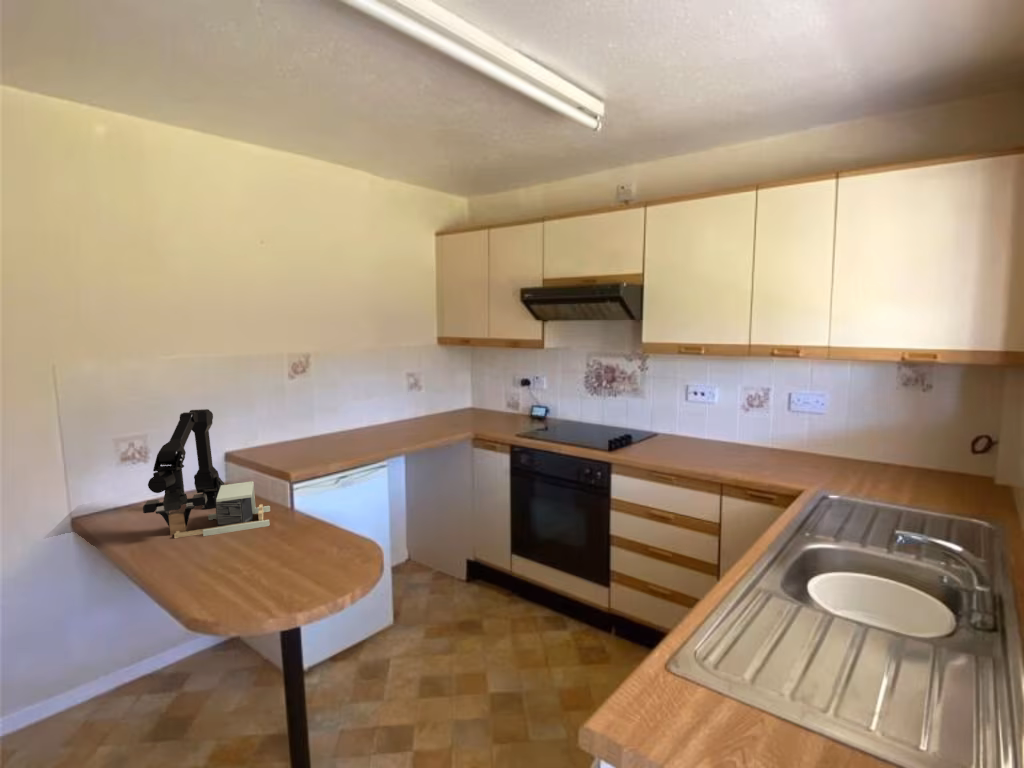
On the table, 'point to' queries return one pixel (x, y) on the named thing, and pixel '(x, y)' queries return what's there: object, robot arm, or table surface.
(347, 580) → the table surface
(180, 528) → the wooden block with bar
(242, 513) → the small box
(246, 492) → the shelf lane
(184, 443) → the robot arm
